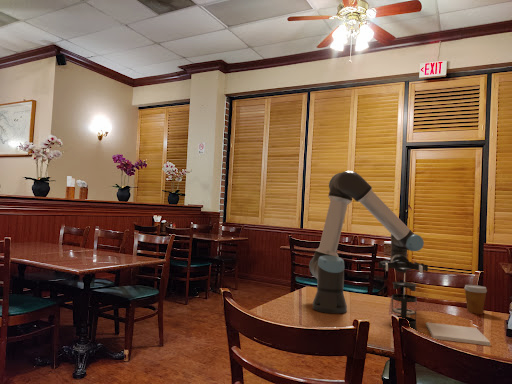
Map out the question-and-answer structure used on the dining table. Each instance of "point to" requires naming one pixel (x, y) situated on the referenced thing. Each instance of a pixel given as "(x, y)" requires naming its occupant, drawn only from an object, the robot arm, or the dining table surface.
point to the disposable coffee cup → (475, 298)
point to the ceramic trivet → (457, 333)
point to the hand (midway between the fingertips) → (404, 268)
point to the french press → (405, 300)
